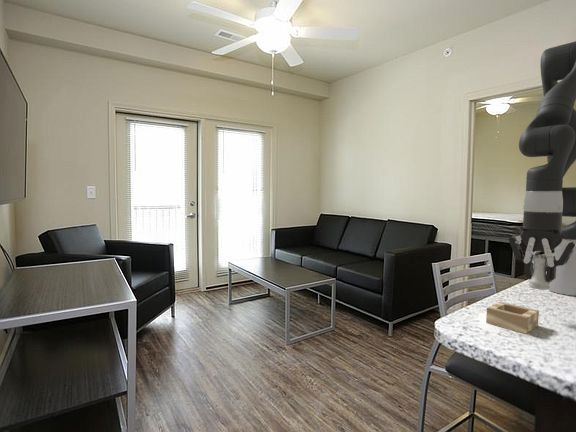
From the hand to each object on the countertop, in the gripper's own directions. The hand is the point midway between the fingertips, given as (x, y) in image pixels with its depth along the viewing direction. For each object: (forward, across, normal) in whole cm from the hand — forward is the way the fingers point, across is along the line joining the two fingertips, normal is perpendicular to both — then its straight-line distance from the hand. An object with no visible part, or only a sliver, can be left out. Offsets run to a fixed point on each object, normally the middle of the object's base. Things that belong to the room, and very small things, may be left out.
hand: (539, 279), depth 83 cm
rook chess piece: (+2, 0, 0) cm, 2 cm away
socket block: (+9, +2, +11) cm, 14 cm away
